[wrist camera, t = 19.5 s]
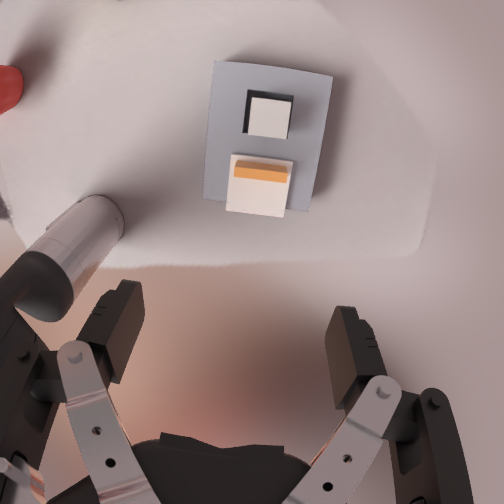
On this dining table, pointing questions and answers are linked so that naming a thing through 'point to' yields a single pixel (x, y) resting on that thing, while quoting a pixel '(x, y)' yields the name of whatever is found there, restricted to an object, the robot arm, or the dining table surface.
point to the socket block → (239, 142)
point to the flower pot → (10, 87)
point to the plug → (269, 117)
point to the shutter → (258, 185)
